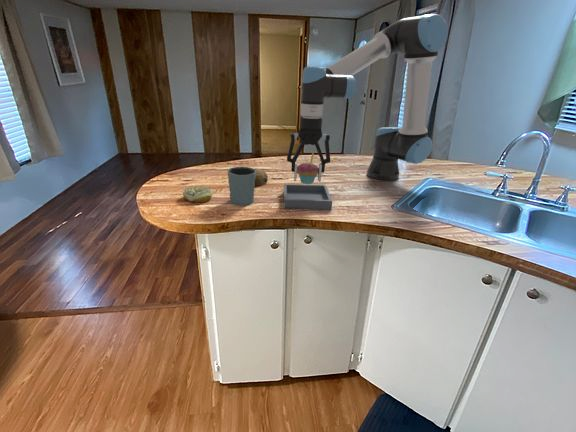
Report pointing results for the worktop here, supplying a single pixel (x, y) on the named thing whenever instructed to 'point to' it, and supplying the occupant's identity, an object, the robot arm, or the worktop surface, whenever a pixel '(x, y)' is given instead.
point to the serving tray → (307, 197)
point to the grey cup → (241, 185)
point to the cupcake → (307, 171)
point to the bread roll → (260, 177)
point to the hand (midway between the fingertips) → (307, 180)
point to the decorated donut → (197, 194)
